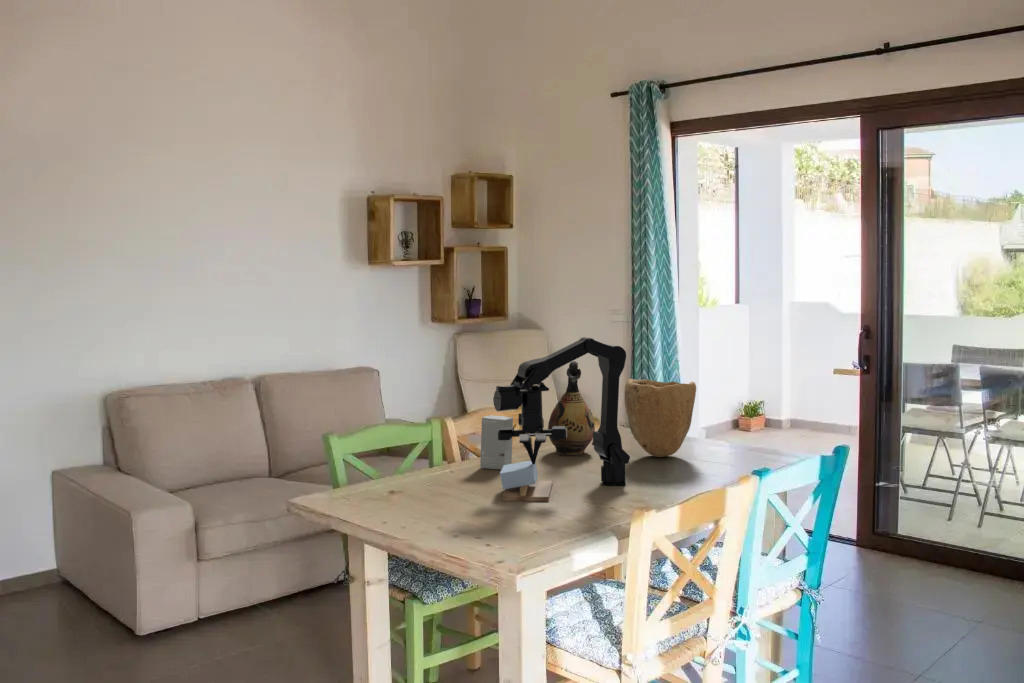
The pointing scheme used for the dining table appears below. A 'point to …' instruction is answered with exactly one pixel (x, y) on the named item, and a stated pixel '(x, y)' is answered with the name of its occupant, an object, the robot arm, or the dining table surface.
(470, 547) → the dining table surface
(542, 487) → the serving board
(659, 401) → the brown stone pot
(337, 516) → the dining table surface
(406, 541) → the dining table surface
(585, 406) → the ceramic jug
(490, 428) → the skincare box
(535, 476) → the blue block
